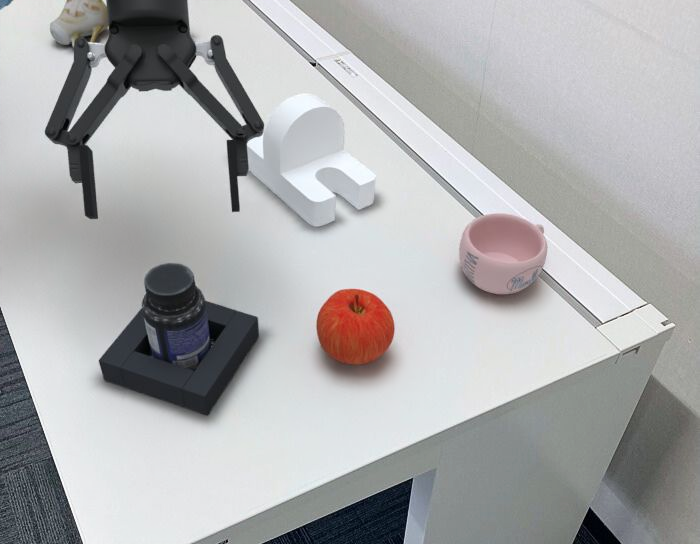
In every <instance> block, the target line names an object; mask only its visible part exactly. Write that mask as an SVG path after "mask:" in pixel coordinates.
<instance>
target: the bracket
mask: <svg viewBox="0 0 700 544" xmlns="http://www.w3.org/2000/svg"><path fill="white" fill-rule="evenodd" d="M247 153H248V166H249V170H248V172H250V173H251V174H252V175H253V176H255V177H256V178H257V179H258V180H259V181H260V183H262V184H263V185H265V186H266V187H267V188H268V189H269V190H270V191H271V192H272V193H274V194H275V195H276V196H277V197H278V198H279V199H280V200H281V201H283V202H284V203H285V204H286V205H287V206H288V207H289V208H290V209H292V211H293V212H295V213H296V214H297V215H298V216H300V217H301V218H302V219H303V220H304V221H305V222H306V223H307V224H308V225H310V226H312V227H315V228H316V227H317V228H318V227H319V228H320V227H323V226H326V225H328V224H331V223H333V222H335V221H336V206H337V195H336V194H338V195H339V196H341V197H342V198H343V199H344V200H346V201H347V202H348V203H349V204H351V205H352V206H353V207H354V208H355V209H357V210H358V211H360V210H362V209H364V208H367V207H369V206H372V205H373V204H374V201H375V190H376V181H377V180H376V178H377V176H376V174H375V172H374V171H372V170H371V169H370V168H368V167H367V166H366V165H364V164H363V163H361V161H359V160H358V159H357V158H355V157H354V156H353V155H352V154H351V153H349V152H348V151H346V150H345V123H344V120H343V117H342V115H340V113H339V112H338V111H337V110H336V109H335V108H333V107H332V106H331V105H329V104H328V103H327V102H325V101H324V100H322V99H321V98H319V97H318V96H316V95H314V94H312V93H305V92H304V93H298V94H295V95H293V96H289V98H286V99H285V100H284V101H283V102H281V103H280V104H279V105H278V106H277V107H276V108H275V109H274V110H273V112H272V113H271V115H270V116H269V118H268V120H267V122H266V125H265V126H264V131H263V134H262V136H260V137H255V138H253V139H251V140H249V141H248V143H247Z"/></svg>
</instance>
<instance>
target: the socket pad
mask: <svg viewBox="0 0 700 544" xmlns="http://www.w3.org/2000/svg"><path fill="white" fill-rule="evenodd" d="M205 305H206V312H207V320H208V327H209V334H210V341H211V340H212V341H214V343H213V344H212V345H211V348H210V350H209V351H208V353H207V354H206V356H205V357H204V358H203V360H202V361H201V363H200V364H199V365H198V367H197V368H196V370H195V371H192V370H189V369H186V368H183V367H180V366H177V365H174V364H172V363H169V362H166V361H163V360H160V359H157V358H154V357H152V352H151V348H150V343H149V339H148V334H147V330H146V325H145V321H144V316H143V312H142V307H141V308H140V309H139V311H138V312H137V313H136V314H135V315H134V317H133V318H132V319H131V320H130V321H129V322H128V323H127V325H126V327H125V328H124V329H122V331H121V332H120V334H118V336H117V337H116V338H115V340H114V341H113V342H112V343H111V345H110V346H109V347H108V348H107V349H106V350H105V351H104V353H103V354H102V355H101V357H100V358H99V359H98V364H99V367H100V371H101V375H102V378H103V380H104V381H106V382H109V383H111V384H115V385H117V386H121V387H124V388H127V389H130V390H132V391H136V392H139V393H141V394H144V395H147V396H150V397H153V398H155V399H159V400H162V401H165V402H167V403H170V404H173V405H176V406H178V407H182V408H185V409H188V410H190V411H193V412H197V413H199V414H202V415H205V416H209V414H210V412H211V411H212V409H213V408H214V407H215V405H216V403H217V402H218V400H219V399H220V397H221V396H222V394H223V392H224V391H225V389H226V388H227V387H228V385H229V383H230V382H231V380H232V379H233V378H234V375H235V374H236V373H237V371H238V369H239V368H240V366H241V365H242V363H243V362H244V360H245V359H246V357H247V356H248V354H249V353H250V351H251V350H252V348H253V346H254V345H255V343H256V342H257V340H258V339H259V337H260V333H259V332H260V331H259V330H260V328H259V317H258V316H256V315H252V314H249V313H247V312H243V311H240V310H237V309H233V308H231V307H227V306H225V305H221V304H218V303H215V302H211V301H208V300H205ZM150 355H151V356H150Z"/></svg>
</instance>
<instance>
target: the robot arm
mask: <svg viewBox="0 0 700 544" xmlns="http://www.w3.org/2000/svg"><path fill="white" fill-rule="evenodd" d="M13 1H14V0H0V11H1V10H2V9H4V8H5V7H8V6H10V5H11V4H12V2H13ZM105 5H106V6H107V16H108V27H107V28H108V37H107V39H106V42H105V43H101V42H94V43H92V42H90V41H88V40H87V39H86V38H85V37H78V38H76V40H75V42H74V48H73V62H72V64H71V67H70V69H69V71H68V74H67V76H66V78H65V81H64V83H63V86H62V88H61V91H60V93H59V94H58V97H57V100H56V103H55V105H54V106H53V110H52V111H51V113H50V117H49V119H48V122H47V123H46V126H45V128H44V134H45V135H44V136H45V137H46V138H47V139H48V140H50V141H51V142H52V143H53V144H54V145H60V146H63V147H66V149H67V158H68V159H67V161H68V169H69V170H68V171H69V177H70V180H71V181H72V182H73V183H74V184H82V185H81V187H82V198H83V209H84V211H83V212H84V217H86V218H87V219H89V220H98V219H99V211H98V201H97V199H98V198H97V189H96V177H95V165H94V154H93V150H92V149H91V147H90V146H89V145H88V144H87V143H89V141H90V139H91V138H92V137H93V136H94V134H95V133H96V131H97V130H98V129H99V127H100V126H101V125H102V124H103V122H104V121H105V120H106V118H107V117H108V115H109V114H110V113H111V112H112V111H113V109H114V108H115V107H116V105H117V104H118V102H119V101H120V100H121V99H122V98H123V97H125V96H126V94H127V93H128V92H129V90H130V89H131V88H133V89H135V90H138V92H150V91H153V90H158V91H164V92H170V91H171V92H172V90H173V89H175V88H176V87H178V86H180V87H181V89H183V91H184V92H185V93H186V94H187V95H188V96H190V97H191V98H192V99H193V100H194V101H195V102H196V103H197V104H198V105H199V106H200V107H201V109H202V110H204V111H205V113H206V114H207V115H208V116H209V117H210V118H211V119H212V120H213V121H214V122H215V123H216V124H217V126H219V127H220V128H221V129H222V130H223V131H224V132H225V134H226V135H228V137H229V138H230V139H226V152H227V153H226V155H227V165H228V166H227V167H228V179H229V191H230V204H231V213H240V212H241V211H240V210H241V206H240V195H239V194H240V193H239V192H240V191H239V180H238V177H247V176H248V173H249V166H248V153H247V143H248V141H249V140H251V139H253V138H255V137H260V136H262V134H263V135H264V131H265V123H264V121H263V119H262V117H261V115H260V114H259V112H258V110H257V109H256V107H255V105H254V103H253V102H252V100H251V98H250V96H249V95H248V93H247V91H246V89H245V88H244V86H243V83H241V81H240V80H239V77H238V76H237V74H236V72H235V70H234V69H233V67H232V66H231V64H230V61H229V60H228V58H227V55H226V49H225V43H224V39H223V38H222V36H221V35H218V34H214V35H211V38H210V39H209V40H200V41H194V40H193V38H192V35H191V29H190V16H189V2H188V0H105ZM197 57H202V58H203V59H204V62H205V63H206V64H207V65H209V66H214V70H215V72H216V74H217V77H218V78H219V80H220V82H221V84H222V85H223V87H224V89H225V90H226V91H227V93H228V96H229V97H230V99H231V100H232V102H233V104H234V106H235V107H236V109H237V110H238V112H239V114H240V116H241V118H242V119H243V121H244V123H245V124H243V125H242V124H241V123H240V122H239V121H238V120H237V119H236V117H234V116H233V115H232V113H230V112H229V110H228V109H227V108H226V107H225V106H224V105H223V104H222V103H221V102H220V101H219V100H218V99H217V98H216V96H214V95H213V93H211V91H210V90H209V89H208V88H207V87H206V86H205V85H204V84H203V83H202V82H201V81H200V80H199V78H198V77H197V76H196V74H195V73H194V72H193V71H192V70H191V69H190V68H191V67H192V65H193V64H194V62H195V60H196V58H197ZM104 58H107V60H108V61H109V63H110V64H111V65H112V66H113V68H114V69H113V70H112V72H111V73H110V74H109V76H108V77H107V78H106V79H107V80H106V82H105V84H103V86H102V87H101V89H100V90H99V91H98V93H97V94H96V95H95V97H94V98H93V99H92V100H91V102H90V103H89V104H88V106H87V107H86V109H85V110H84V111H83V112H82V114H81V115H80V116H79V117H78V119H77V120H76V122H75V123H74V124H73V126H72V127H71V128H70V126H71V123H72V121H73V119H74V117H75V115H76V112H77V111H78V110H77V109H78V108H79V105H80V103H81V100H82V97H83V95H84V93H85V90H86V88H87V85H88V83H89V81H90V78H91V74H92V69H95V68H97V67H98V66H99V65H100V62H101V60H103V59H104Z"/></svg>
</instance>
